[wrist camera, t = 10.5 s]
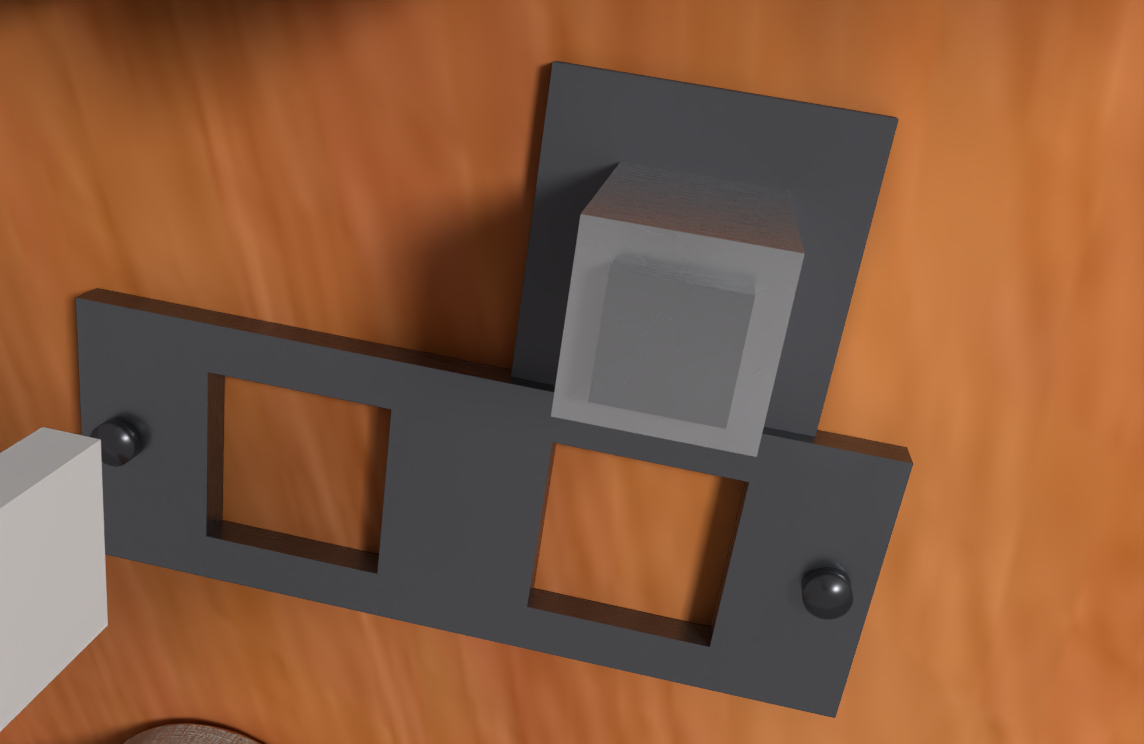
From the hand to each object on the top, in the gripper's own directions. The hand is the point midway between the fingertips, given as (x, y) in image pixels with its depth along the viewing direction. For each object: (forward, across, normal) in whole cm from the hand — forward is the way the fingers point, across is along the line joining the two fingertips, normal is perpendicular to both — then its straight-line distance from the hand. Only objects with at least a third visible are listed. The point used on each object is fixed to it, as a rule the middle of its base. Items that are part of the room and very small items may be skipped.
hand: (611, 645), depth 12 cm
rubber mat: (+20, 0, 0) cm, 20 cm away
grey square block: (+20, 0, 0) cm, 20 cm away
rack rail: (+20, -6, -10) cm, 23 cm away
